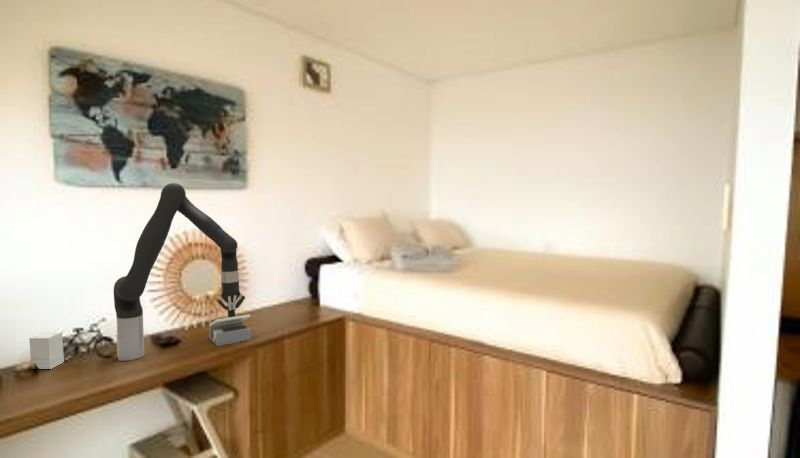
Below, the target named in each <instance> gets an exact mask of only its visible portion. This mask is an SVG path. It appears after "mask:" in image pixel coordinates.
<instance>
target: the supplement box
mask: <svg viewBox="0 0 800 458" xmlns="http://www.w3.org/2000/svg"><path fill="white" fill-rule="evenodd" d="M28 339H29V352H30V353H29V354H30V364H31V363H35V364H36V365H37V367H38V368H39V369H51V370H53V369H55V368H54V367H56V366H58V365H60V364H62V363H63V362H64V363H65V358H64V356H65V355H64V340H63V332H59V331H58V332H53V331H51V332H49V331H47V332H45V331H43V332H42V333H39V334H37V335H34V336H31V337H29V338H28ZM64 363H63V364H64ZM63 364H62V365H63ZM60 366H61V365H60ZM58 367H59V366H58ZM52 368H53V369H52ZM56 368H57V367H56Z"/></svg>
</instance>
